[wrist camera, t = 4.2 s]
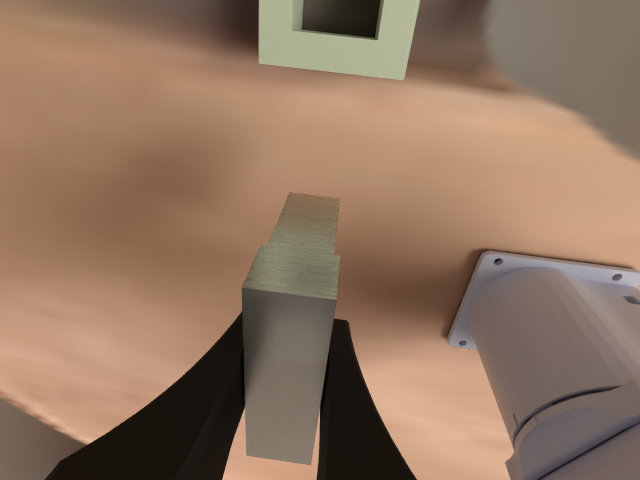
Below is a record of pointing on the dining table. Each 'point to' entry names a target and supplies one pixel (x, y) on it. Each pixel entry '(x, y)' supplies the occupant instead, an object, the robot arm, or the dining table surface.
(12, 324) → the dining table surface
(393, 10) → the slotted block
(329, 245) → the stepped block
